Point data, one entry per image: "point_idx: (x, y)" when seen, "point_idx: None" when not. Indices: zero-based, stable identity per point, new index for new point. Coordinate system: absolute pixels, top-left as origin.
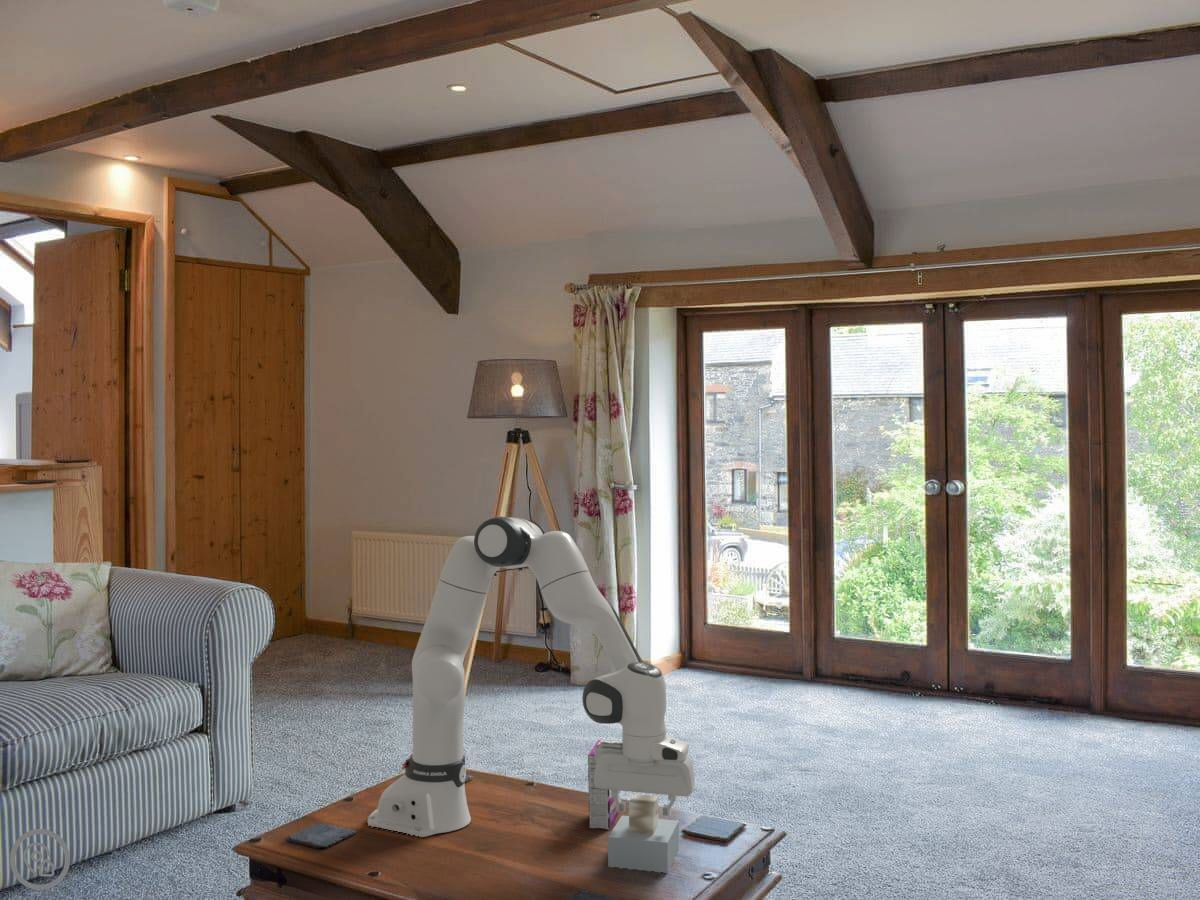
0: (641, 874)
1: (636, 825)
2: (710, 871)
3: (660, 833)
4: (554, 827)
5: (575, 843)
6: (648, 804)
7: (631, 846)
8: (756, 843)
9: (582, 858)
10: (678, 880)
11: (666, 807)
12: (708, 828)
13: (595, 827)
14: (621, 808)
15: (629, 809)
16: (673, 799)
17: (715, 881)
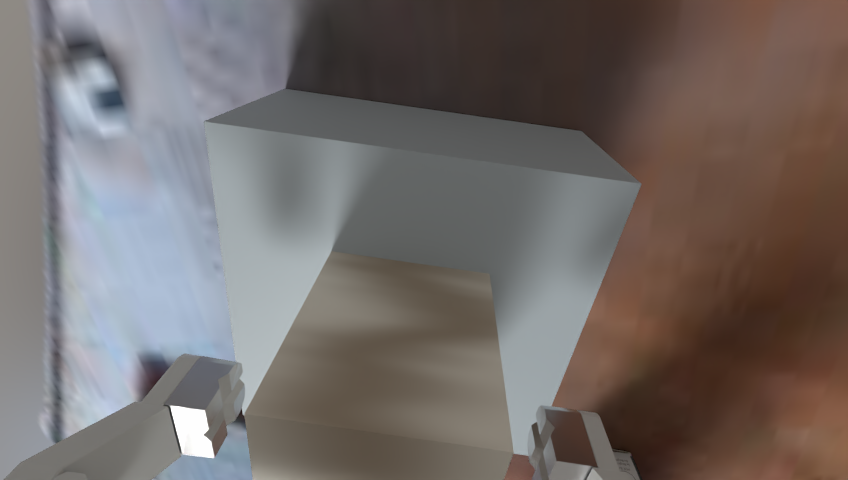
0: (409, 58)
1: (439, 294)
2: (107, 135)
3: (292, 266)
4: (759, 454)
5: (703, 347)
6: (302, 418)
7: (466, 144)
8: (59, 377)
9: (697, 214)
10: (212, 3)
11: (175, 416)
12: (240, 457)
13: None
14: (566, 428)
15: (501, 389)
16: (24, 476)
17: (38, 17)
